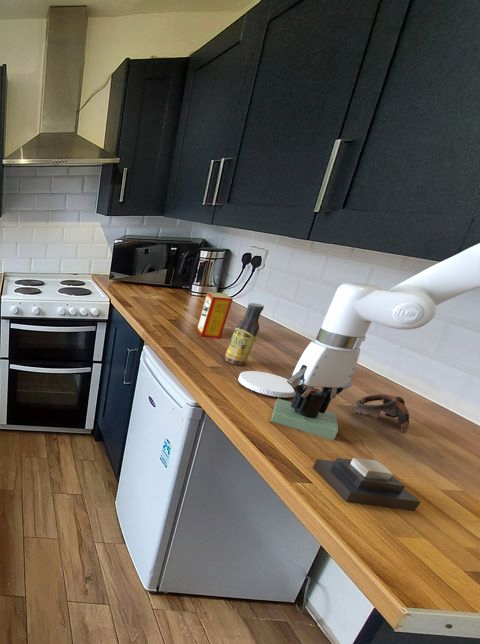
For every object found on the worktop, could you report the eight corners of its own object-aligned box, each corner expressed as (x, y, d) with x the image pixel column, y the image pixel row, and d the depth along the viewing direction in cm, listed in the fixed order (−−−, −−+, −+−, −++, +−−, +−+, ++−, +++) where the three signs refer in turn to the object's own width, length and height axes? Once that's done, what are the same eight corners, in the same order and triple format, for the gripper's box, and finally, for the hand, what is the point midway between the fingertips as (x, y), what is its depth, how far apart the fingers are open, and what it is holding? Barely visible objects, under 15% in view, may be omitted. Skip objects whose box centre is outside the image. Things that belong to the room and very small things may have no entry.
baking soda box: (196, 329, 165) (207, 290, 158) (213, 331, 163) (225, 292, 157) (201, 336, 156) (213, 296, 150) (220, 338, 155) (233, 298, 148)
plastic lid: (273, 379, 121) (276, 372, 120) (308, 402, 108) (311, 393, 107) (227, 377, 121) (229, 369, 120) (256, 399, 108) (259, 391, 107)
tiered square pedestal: (373, 475, 80) (382, 459, 78) (414, 511, 71) (426, 493, 69) (312, 467, 82) (320, 451, 80) (345, 501, 73) (355, 484, 71)
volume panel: (332, 423, 99) (337, 413, 97) (333, 440, 91) (338, 430, 90) (273, 406, 105) (277, 397, 104) (270, 421, 98) (274, 412, 97)
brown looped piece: (403, 440, 93) (393, 408, 93) (352, 435, 102) (343, 406, 101) (425, 416, 98) (416, 386, 97) (374, 414, 107) (365, 386, 106)
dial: (309, 409, 99) (319, 387, 96) (321, 418, 95) (332, 395, 92) (290, 408, 99) (300, 385, 97) (301, 417, 96) (312, 393, 93)
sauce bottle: (219, 360, 134) (238, 302, 126) (231, 357, 137) (250, 300, 128) (238, 367, 129) (258, 307, 121) (250, 365, 131) (271, 306, 123)
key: (372, 467, 76) (376, 460, 76) (388, 481, 73) (393, 473, 72) (349, 464, 77) (353, 457, 76) (364, 478, 73) (368, 470, 73)
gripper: (361, 335, 93) (329, 403, 100) (289, 332, 93) (262, 401, 100) (392, 347, 86) (355, 419, 94) (314, 343, 86) (283, 416, 93)
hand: (307, 409), depth 97 cm, fingers closed on dial, 4 cm apart
